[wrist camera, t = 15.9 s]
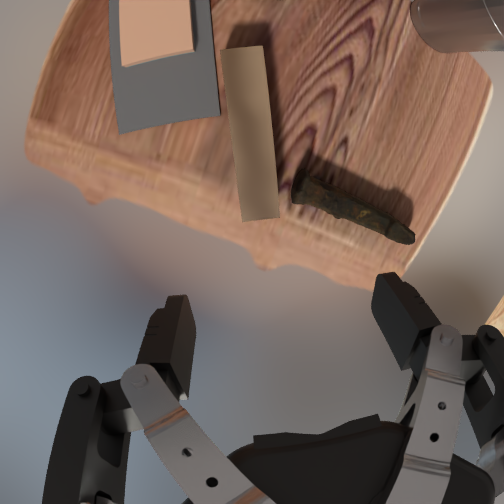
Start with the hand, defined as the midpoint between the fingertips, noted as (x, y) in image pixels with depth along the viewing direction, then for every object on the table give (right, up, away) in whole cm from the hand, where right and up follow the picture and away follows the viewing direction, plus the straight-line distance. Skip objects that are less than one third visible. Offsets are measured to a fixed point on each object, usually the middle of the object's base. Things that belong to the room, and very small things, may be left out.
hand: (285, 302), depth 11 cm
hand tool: (+12, +8, +23) cm, 28 cm away
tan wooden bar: (-2, +16, +18) cm, 24 cm away
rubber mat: (-12, +26, +12) cm, 31 cm away
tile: (-11, +23, +12) cm, 28 cm away
